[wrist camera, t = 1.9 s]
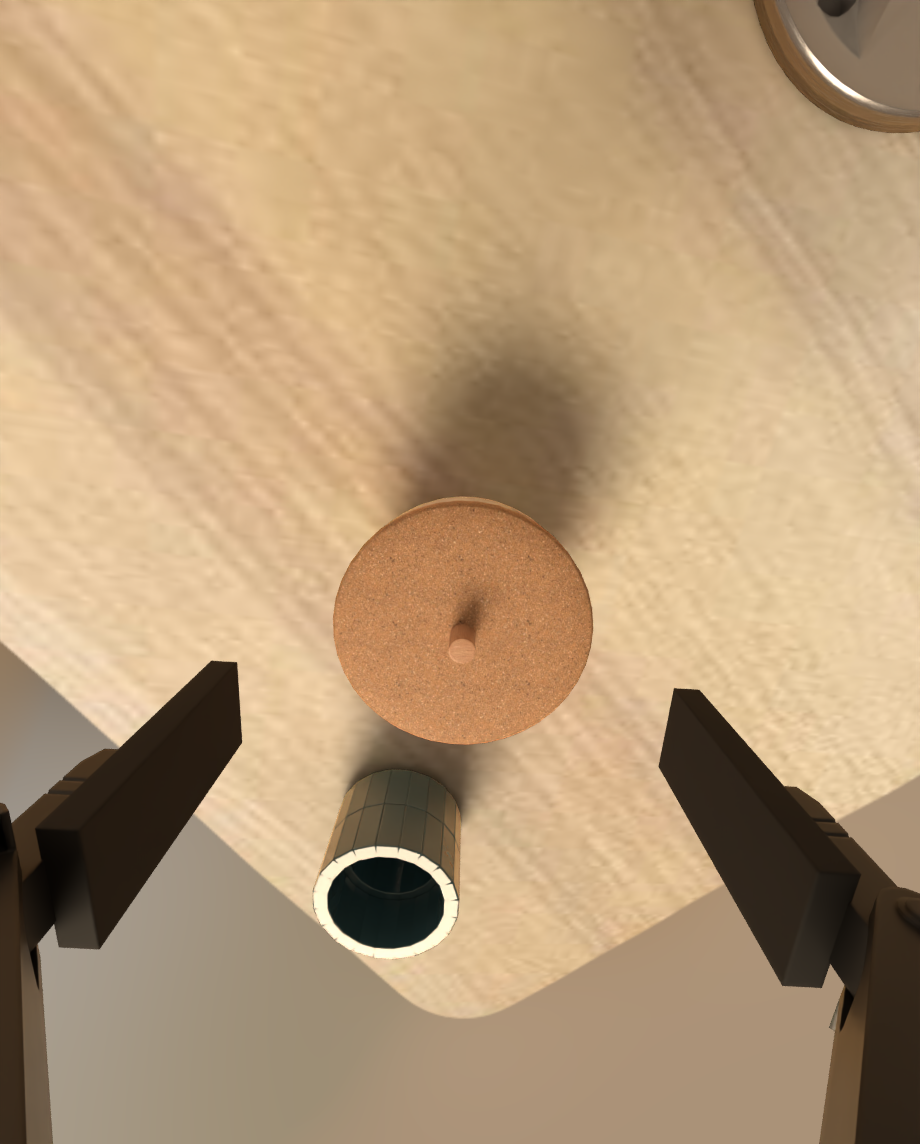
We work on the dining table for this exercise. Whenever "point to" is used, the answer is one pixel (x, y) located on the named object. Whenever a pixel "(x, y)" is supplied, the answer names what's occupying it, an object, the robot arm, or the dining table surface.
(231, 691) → the robot arm
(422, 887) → the grey-green hollow cylinder
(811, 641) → the dining table surface
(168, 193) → the dining table surface
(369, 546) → the trinket box
